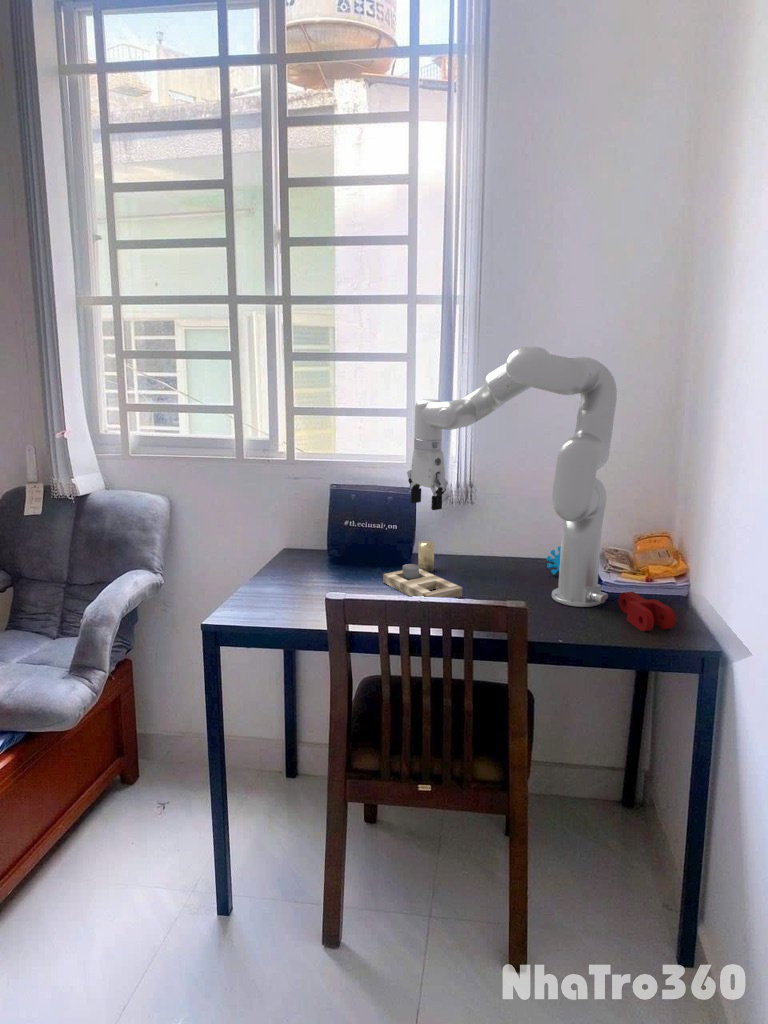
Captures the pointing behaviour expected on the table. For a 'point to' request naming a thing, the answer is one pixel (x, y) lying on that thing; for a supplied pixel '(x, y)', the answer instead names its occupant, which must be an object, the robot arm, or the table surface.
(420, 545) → the gold metallic cylinder
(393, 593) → the table surface
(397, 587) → the jig
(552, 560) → the gear
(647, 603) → the mechanical linkage
